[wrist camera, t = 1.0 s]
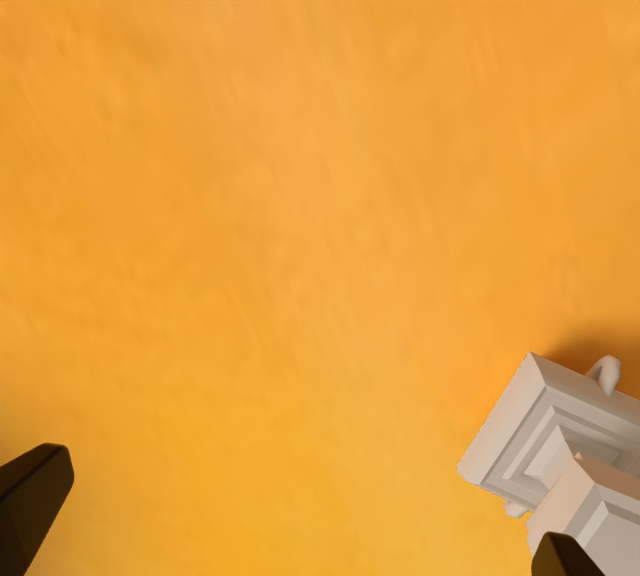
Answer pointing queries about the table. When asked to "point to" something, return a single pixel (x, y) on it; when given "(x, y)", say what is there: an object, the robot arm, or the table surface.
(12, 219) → the table surface
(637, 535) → the stamp
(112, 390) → the table surface
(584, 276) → the table surface
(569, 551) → the robot arm
